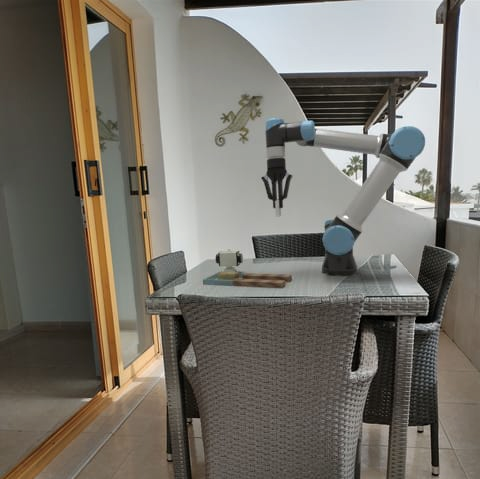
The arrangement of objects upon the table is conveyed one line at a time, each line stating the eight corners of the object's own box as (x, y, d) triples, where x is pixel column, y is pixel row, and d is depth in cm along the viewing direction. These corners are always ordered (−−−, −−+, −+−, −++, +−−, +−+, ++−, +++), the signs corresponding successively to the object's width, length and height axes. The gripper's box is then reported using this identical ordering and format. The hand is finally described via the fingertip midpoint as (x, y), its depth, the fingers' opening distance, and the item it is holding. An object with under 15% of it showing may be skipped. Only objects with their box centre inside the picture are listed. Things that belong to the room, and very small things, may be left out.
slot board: (291, 281, 144) (291, 274, 143) (282, 291, 131) (281, 283, 130) (246, 280, 151) (245, 273, 151) (232, 288, 139) (232, 280, 138)
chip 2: (239, 281, 147) (238, 272, 147) (235, 283, 144) (234, 274, 143) (230, 281, 149) (229, 271, 148) (226, 283, 145) (225, 273, 145)
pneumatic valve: (241, 276, 159) (240, 249, 157) (216, 276, 161) (214, 250, 160) (244, 273, 164) (242, 248, 163) (219, 273, 167) (218, 248, 165)
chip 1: (230, 281, 149) (229, 271, 148) (226, 283, 145) (225, 273, 145) (221, 280, 150) (221, 271, 150) (217, 283, 147) (216, 273, 146)
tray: (246, 280, 151) (245, 273, 151) (232, 288, 139) (232, 280, 138) (218, 278, 156) (218, 272, 156) (203, 286, 144) (202, 279, 143)
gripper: (294, 157, 146) (296, 215, 148) (263, 160, 151) (266, 216, 153) (289, 156, 139) (291, 216, 141) (257, 159, 144) (260, 217, 147)
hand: (278, 216), depth 147 cm, fingers closed
